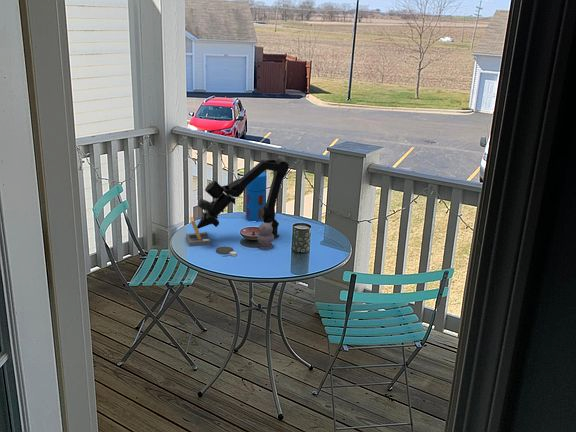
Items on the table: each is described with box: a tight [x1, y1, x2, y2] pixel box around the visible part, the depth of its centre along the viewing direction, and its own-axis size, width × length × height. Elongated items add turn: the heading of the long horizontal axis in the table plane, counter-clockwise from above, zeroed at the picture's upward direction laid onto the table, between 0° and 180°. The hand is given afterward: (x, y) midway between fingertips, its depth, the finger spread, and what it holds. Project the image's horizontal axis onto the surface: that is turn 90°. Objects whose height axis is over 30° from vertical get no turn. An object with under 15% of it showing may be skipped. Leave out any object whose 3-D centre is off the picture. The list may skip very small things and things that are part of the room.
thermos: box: [245, 172, 267, 223], centre depth 298 cm, size 11×11×25 cm
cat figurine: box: [256, 222, 275, 250], centre depth 263 cm, size 8×8×12 cm
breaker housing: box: [185, 231, 212, 247], centre depth 266 cm, size 10×11×3 cm
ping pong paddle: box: [215, 245, 238, 258], centre depth 256 cm, size 10×8×2 cm
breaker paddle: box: [189, 216, 203, 240], centre depth 264 cm, size 2×6×11 cm, turn 17°
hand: (197, 227), depth 264 cm, fingers closed, pressing on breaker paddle
